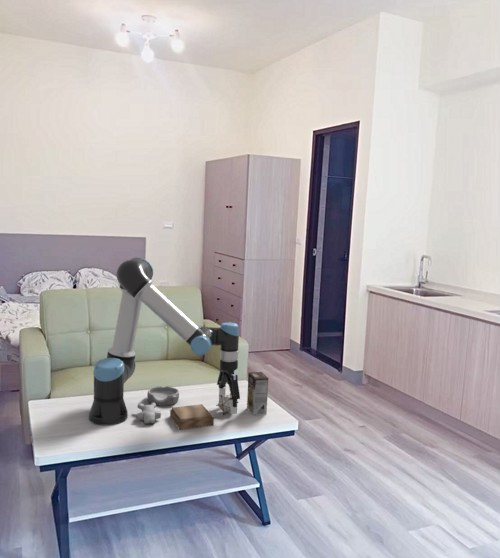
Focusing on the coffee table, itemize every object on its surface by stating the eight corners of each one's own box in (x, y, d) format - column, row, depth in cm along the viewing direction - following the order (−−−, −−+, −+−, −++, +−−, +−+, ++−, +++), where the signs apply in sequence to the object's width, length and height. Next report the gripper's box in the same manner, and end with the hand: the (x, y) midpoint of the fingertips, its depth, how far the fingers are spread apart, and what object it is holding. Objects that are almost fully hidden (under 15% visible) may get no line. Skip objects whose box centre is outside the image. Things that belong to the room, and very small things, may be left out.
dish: (180, 406, 235) (180, 395, 235) (148, 407, 232) (148, 396, 231) (177, 394, 249) (177, 384, 249) (146, 396, 246) (146, 385, 245)
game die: (222, 421, 229) (208, 403, 228) (231, 409, 236) (218, 391, 235) (236, 416, 224) (222, 398, 222) (245, 404, 230) (232, 385, 229)
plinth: (179, 429, 210) (180, 419, 209) (170, 416, 223) (170, 407, 222) (213, 425, 216) (214, 415, 215) (202, 412, 228) (202, 403, 228)
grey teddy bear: (138, 416, 211) (135, 399, 225) (137, 428, 212) (135, 410, 226) (162, 415, 213) (158, 398, 227) (161, 427, 215) (157, 409, 229)
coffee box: (246, 407, 236) (247, 372, 234) (260, 406, 238) (261, 371, 236) (252, 415, 228) (254, 378, 226) (267, 414, 230) (268, 377, 228)
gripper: (249, 367, 217) (247, 417, 220) (226, 351, 239) (225, 397, 242) (231, 368, 214) (230, 419, 216) (210, 352, 236) (209, 399, 239)
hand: (227, 408), depth 229 cm, fingers open, 13 cm apart
